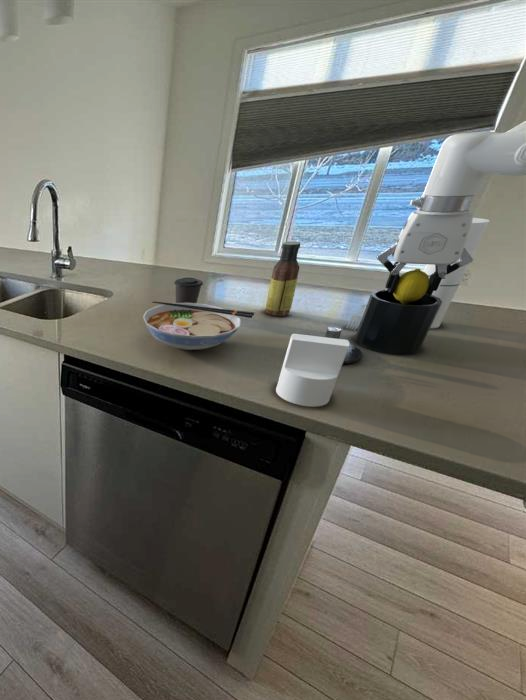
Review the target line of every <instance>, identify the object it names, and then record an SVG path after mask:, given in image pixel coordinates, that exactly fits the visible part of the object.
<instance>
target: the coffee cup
mask: <svg viewBox="0 0 526 700" xmlns="http://www.w3.org/2000/svg"><path fill="white" fill-rule="evenodd" d="M173 284H174V285H175V303H198V299H199V296H200V292H201V288H202V286H203V285H204V282H203V280H202V279H199V278H196V277H182V278H181V277H180V278H177V279H176V280H175V281H174V282H173Z"/></svg>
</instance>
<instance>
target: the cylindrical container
mask: <svg viewBox="0 0 526 700" xmlns="http://www.w3.org/2000/svg"><path fill="white" fill-rule="evenodd" d="M489 223H490V220H489V219H487V218H480V217H473V220H472V224H471V228H470V232H469V235H468V238H467V241H466V243H465V246H464V248H465V249H466V250H467V252H468V253H469V254H470V256H471V257H472V258H473V257H474V255H475V253H476V250H477V248H478V246H479V244H480V242H481V240H482V238H483V236H484V234H485V231H486V229H487V228H488V225H489ZM459 259H460V258H459ZM469 265H470V263H468V264H466V265H464V266H462V267H460V268H458V269H457V270H455V271H453V272H451V273H449V274H447V275H446V276H445V277H442V280H441V282H440V284H439V286H438V289H437V290H436V291H433V293H432V295H433V296H436V297H438V298H440V299H441V301H442V304H441V306H440V308H439V310H438V312H437V314H436V316H435V319H434V321H433V323H432V325H431V327H430V329H437V328H439V327H440V326H441V324H442V322H443V320H444V319H445V318H444V317H445V316H446V313H447V311H448V309H449V307H450V305H451V303H452V301H453V299H454V297H455V295H456V292H457V290H458V288H459V286H460V284H461V283H462V281H463V277H464V275H465V274H466V271H467V269H468V267H469ZM446 266H447V265H446ZM422 271H423V272H425V273H426V274H427V275H428V277H429V278H430V275H432V274H434V272H435V265H433V264H424V268H423V270H422Z"/></svg>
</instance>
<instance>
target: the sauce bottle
mask: <svg viewBox="0 0 526 700" xmlns="http://www.w3.org/2000/svg"><path fill="white" fill-rule="evenodd" d="M300 248H301V242H300V241H294V240H289V241H283V243H282V245H281V253H280V257H279V260H278V261H277V262H276V264H275V265H274V266H273V268H272V269H273V270H272V274H271V278H270V281H269V288H268V292H267V298H266V304H265V313H266V314H267V315H270V316H274V317H285V316H288V315H289V314H290V312H291V309H292V305H293V302H294V297H295V292H296V289H297V283H298V279H299V278H298V277H299V271H300V265H299V263H298V254H299V250H300Z"/></svg>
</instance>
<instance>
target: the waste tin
mask: <svg viewBox="0 0 526 700" xmlns="http://www.w3.org/2000/svg"><path fill="white" fill-rule="evenodd" d="M387 289H388V288H385V289H378V290H374V291H373V292H371V293H370V296H369V298H368V300H367V303H366V305H367V306H366V305H365V306H366V309H365V311H364V314H363V317H362V319H361V318H360V319H361V322H360V324H359V326H358V327H357V330H356V333H355V335H354V342H355V343H356V344H357V345H359V346H361V347H362V348H364V349H366V350H369V351H372V352H377V353H380V354H381V353H382V354H385V355H386V354H387V355H396V356H397V355H398V356H405V355H413V354H416V353H418V352H419V351H420V350H421V348H422V346H423V344H424V342H425V340H426V338H427V336H428V333H429V331H430V329H431V328H430V327H431V325H432V323H433V321H434V319H435V316H436V314H437V312H438V310H439V308H440V306H441V304H442V301H441V299H440V298H438V297H436V296H433V295H431V296H428V295H426V293H425V294H424V295H423V296H422V297H421V298H420V299H418V300H416V301H414V302H409V303H407V304H402V303H401V302H400V301H399V300H397V299H396V298H395V297H394V295H393V293H389V292H388V290H387Z"/></svg>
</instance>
